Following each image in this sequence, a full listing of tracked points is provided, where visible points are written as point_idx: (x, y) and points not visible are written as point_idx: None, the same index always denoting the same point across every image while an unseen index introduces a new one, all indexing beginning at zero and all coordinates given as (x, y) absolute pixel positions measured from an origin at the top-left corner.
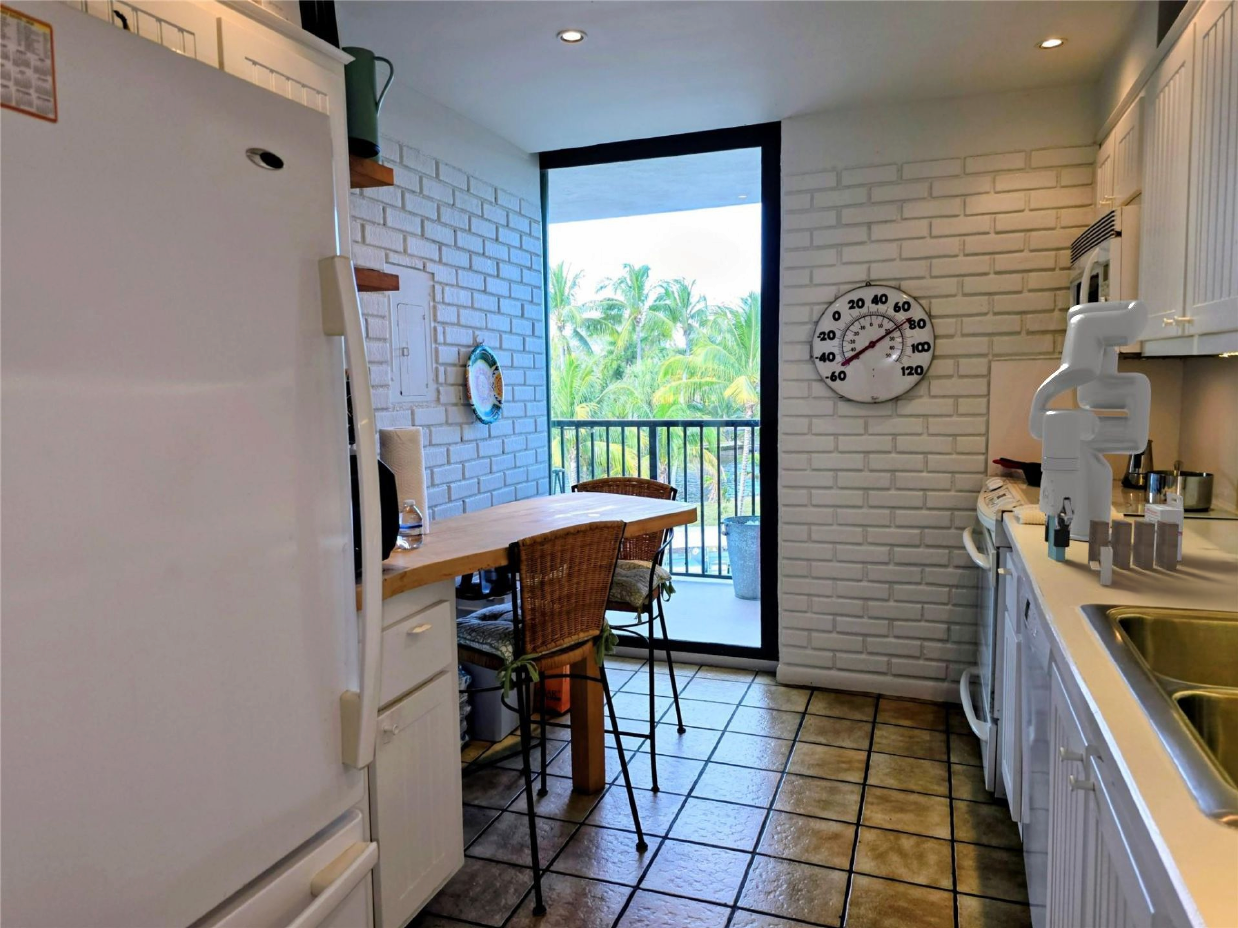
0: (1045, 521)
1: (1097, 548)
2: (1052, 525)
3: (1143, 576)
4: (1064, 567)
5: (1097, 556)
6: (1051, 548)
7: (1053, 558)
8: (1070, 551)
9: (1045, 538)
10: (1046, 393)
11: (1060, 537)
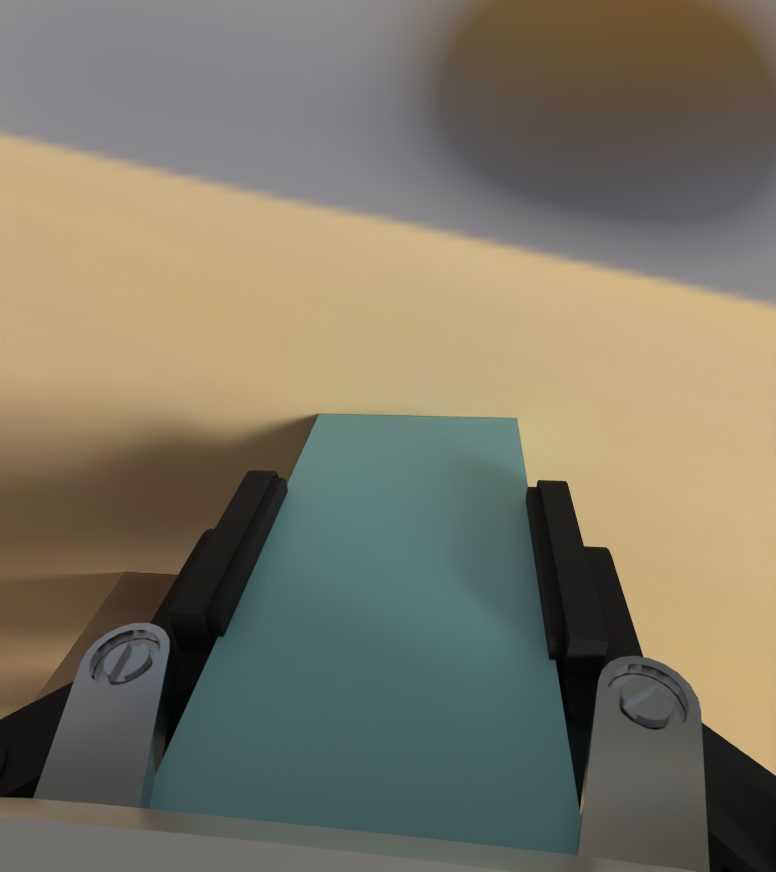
0: (689, 707)
1: (48, 690)
2: (394, 678)
3: (10, 682)
4: (68, 393)
5: (80, 637)
6: (420, 466)
7: (364, 420)
8: (727, 635)
9: (541, 500)
10: None
11: (180, 578)
